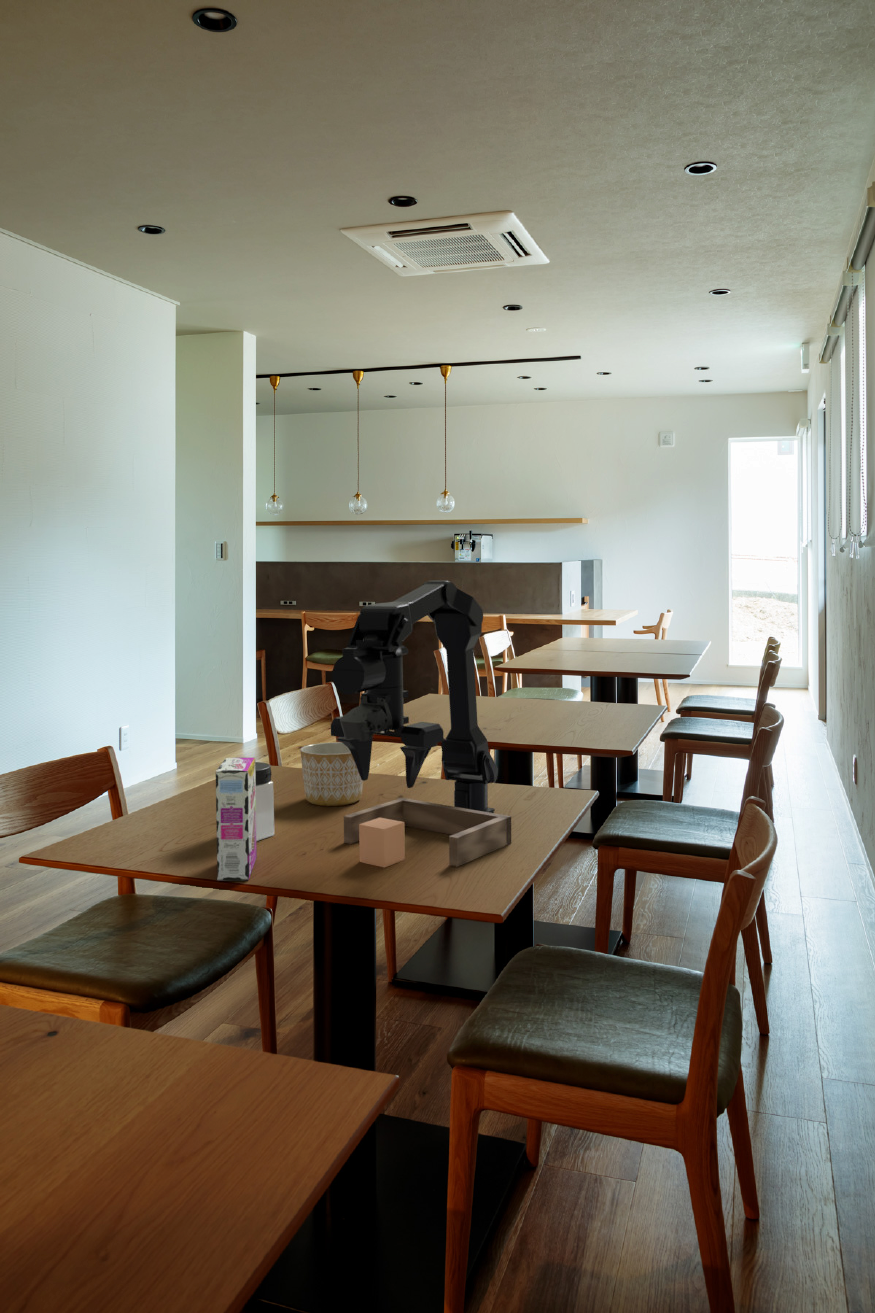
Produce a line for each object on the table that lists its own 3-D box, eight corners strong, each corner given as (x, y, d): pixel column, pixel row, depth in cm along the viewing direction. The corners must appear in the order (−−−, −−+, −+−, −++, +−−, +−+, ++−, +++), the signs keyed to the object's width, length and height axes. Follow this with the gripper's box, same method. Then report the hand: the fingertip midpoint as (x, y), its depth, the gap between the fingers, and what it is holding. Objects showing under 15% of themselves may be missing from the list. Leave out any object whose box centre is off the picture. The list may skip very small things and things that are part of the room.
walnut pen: (402, 822, 173) (401, 797, 172) (511, 843, 159) (511, 816, 159) (344, 842, 160) (343, 816, 160) (457, 866, 147) (457, 838, 146)
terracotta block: (380, 854, 154) (379, 817, 153) (404, 859, 151) (404, 822, 150) (359, 862, 150) (359, 824, 149) (384, 867, 147) (384, 829, 146)
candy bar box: (251, 881, 141) (248, 770, 140) (216, 882, 141) (213, 771, 139) (259, 858, 152) (256, 755, 151) (226, 859, 152) (223, 756, 150)
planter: (377, 802, 188) (377, 749, 187) (319, 811, 181) (318, 756, 180) (346, 790, 199) (345, 740, 198) (290, 798, 192) (289, 746, 191)
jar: (279, 838, 163) (277, 768, 162) (231, 845, 160) (229, 773, 158) (264, 826, 171) (263, 759, 170) (219, 832, 168) (216, 764, 166)
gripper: (305, 688, 149) (308, 786, 151) (399, 697, 139) (402, 803, 140) (352, 679, 158) (355, 773, 160) (444, 687, 147) (446, 787, 149)
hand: (387, 783), depth 152 cm, fingers open, 9 cm apart
